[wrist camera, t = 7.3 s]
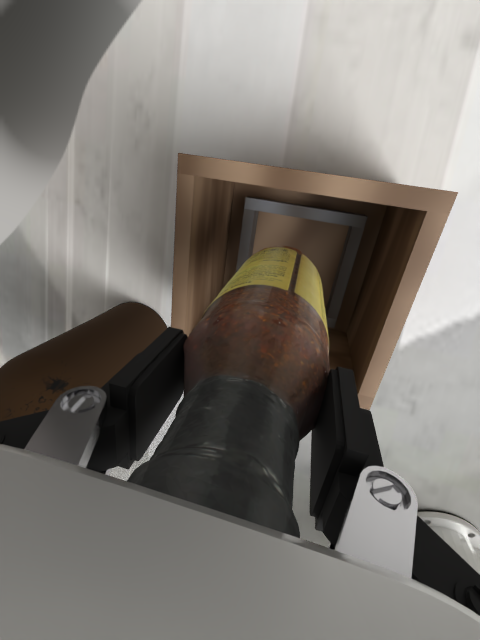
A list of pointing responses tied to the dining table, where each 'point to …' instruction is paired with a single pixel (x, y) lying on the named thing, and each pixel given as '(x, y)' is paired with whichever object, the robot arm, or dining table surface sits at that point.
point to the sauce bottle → (248, 393)
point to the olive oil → (76, 359)
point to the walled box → (310, 248)
